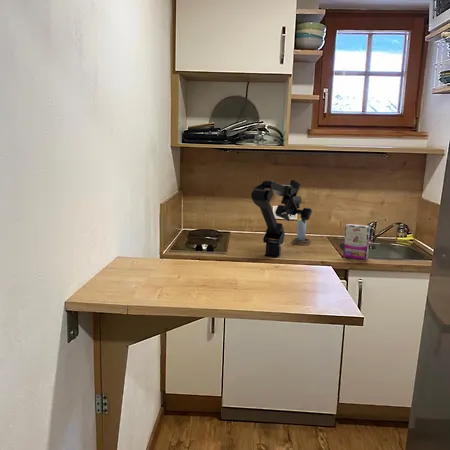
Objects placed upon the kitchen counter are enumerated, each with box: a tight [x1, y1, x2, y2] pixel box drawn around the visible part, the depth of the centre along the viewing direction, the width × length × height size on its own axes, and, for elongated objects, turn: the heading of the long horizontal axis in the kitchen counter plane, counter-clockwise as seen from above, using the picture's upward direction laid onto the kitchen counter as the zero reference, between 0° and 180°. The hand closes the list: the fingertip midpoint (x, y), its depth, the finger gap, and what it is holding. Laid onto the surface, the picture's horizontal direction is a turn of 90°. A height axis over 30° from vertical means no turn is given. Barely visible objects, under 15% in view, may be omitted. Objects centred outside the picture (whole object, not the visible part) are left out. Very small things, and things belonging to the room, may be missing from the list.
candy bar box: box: [342, 223, 371, 261], centre depth 229 cm, size 11×5×16 cm, turn 62°
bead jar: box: [296, 218, 307, 241], centre depth 257 cm, size 5×5×13 cm
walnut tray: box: [291, 237, 312, 246], centre depth 259 cm, size 10×10×2 cm
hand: (297, 221), depth 250 cm, fingers open, 9 cm apart
